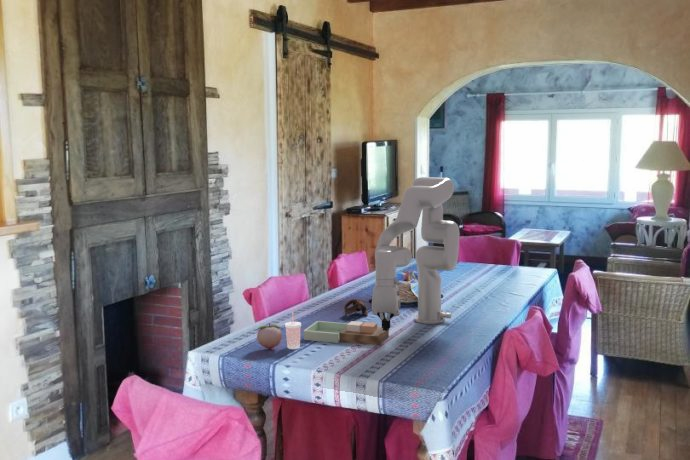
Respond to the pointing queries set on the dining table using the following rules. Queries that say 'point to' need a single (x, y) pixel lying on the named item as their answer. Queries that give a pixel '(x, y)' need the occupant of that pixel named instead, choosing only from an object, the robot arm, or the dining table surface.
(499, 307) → the dining table surface
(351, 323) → the tile cream
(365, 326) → the tile terracotta
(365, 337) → the walnut board
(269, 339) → the decorative fruit
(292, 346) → the beverage cup
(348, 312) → the dark brown domed piece
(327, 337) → the tray
